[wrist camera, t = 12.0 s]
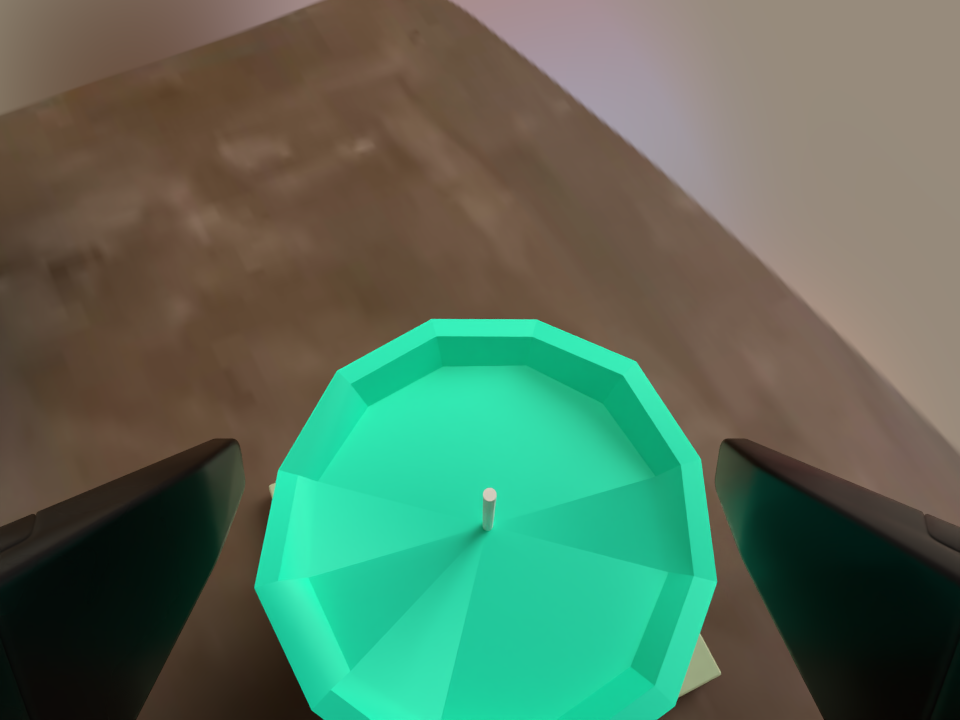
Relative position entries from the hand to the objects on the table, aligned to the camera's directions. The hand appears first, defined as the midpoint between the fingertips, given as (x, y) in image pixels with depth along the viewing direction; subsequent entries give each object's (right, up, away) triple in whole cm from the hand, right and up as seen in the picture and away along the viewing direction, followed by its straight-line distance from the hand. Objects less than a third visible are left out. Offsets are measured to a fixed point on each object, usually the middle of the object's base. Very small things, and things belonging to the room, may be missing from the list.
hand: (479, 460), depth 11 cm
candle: (0, -5, +6) cm, 8 cm away
